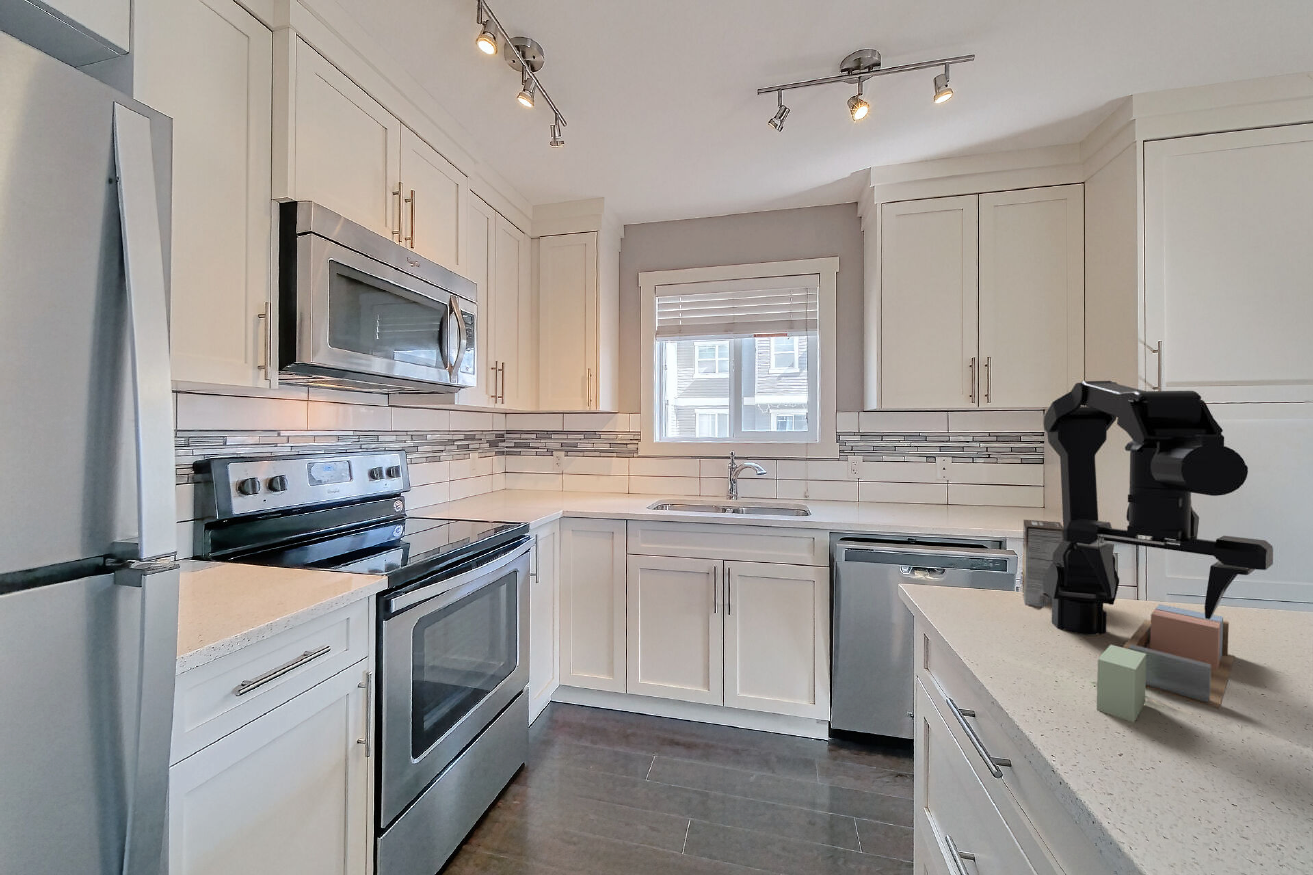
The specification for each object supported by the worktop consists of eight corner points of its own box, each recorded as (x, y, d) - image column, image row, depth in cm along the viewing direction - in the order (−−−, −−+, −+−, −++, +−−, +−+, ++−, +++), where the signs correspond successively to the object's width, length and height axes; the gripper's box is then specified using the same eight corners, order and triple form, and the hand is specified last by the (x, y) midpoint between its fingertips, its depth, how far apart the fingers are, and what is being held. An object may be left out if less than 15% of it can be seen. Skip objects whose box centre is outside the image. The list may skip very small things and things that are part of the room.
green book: (1144, 703, 66) (1146, 653, 66) (1133, 722, 62) (1135, 669, 62) (1109, 692, 69) (1110, 644, 69) (1096, 709, 65) (1097, 658, 65)
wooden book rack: (1218, 716, 63) (1220, 668, 63) (1112, 684, 71) (1113, 641, 71) (1234, 662, 78) (1235, 623, 78) (1144, 640, 86) (1145, 604, 86)
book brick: (1217, 669, 74) (1218, 628, 74) (1150, 652, 79) (1151, 614, 79) (1219, 662, 76) (1220, 622, 76) (1154, 646, 81) (1155, 609, 81)
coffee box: (1020, 592, 111) (1022, 518, 111) (1058, 597, 108) (1060, 521, 108) (1024, 604, 103) (1026, 525, 103) (1064, 611, 100) (1066, 528, 100)
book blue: (1219, 662, 76) (1220, 622, 76) (1154, 646, 82) (1155, 608, 81) (1222, 655, 78) (1223, 616, 78) (1158, 640, 84) (1159, 604, 84)
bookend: (1208, 703, 64) (1210, 667, 64) (1127, 679, 70) (1128, 646, 70) (1210, 699, 65) (1211, 664, 65) (1129, 676, 71) (1130, 644, 71)
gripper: (1281, 491, 63) (1278, 617, 64) (1090, 479, 79) (1088, 580, 79) (1266, 496, 57) (1263, 636, 57) (1062, 482, 73) (1060, 592, 73)
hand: (1157, 607), depth 67 cm, fingers open, 9 cm apart
